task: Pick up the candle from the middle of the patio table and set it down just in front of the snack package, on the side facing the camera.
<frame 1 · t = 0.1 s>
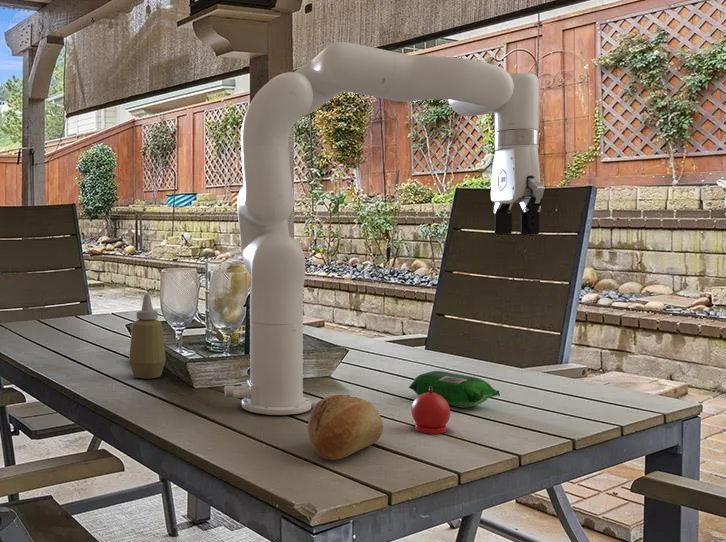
hand: (516, 234, 139), 31 cm above the table, tool pointing down, fingers open, 9 cm apart
squeeze bottle: (147, 377, 164), on the table
snack package: (452, 404, 139), on the table
bread roll: (344, 452, 110), on the table
candle: (430, 429, 121), on the table
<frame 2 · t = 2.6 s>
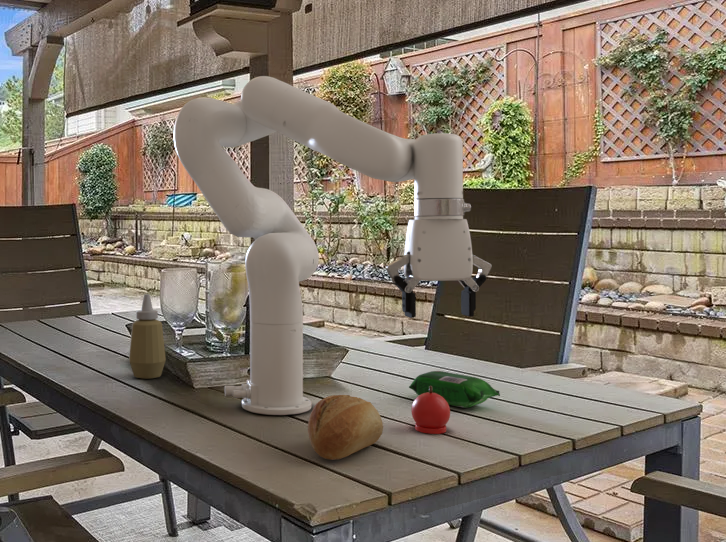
hand: (438, 316, 122), 18 cm above the table, tool pointing down, fingers open, 9 cm apart
nothing on the table moved.
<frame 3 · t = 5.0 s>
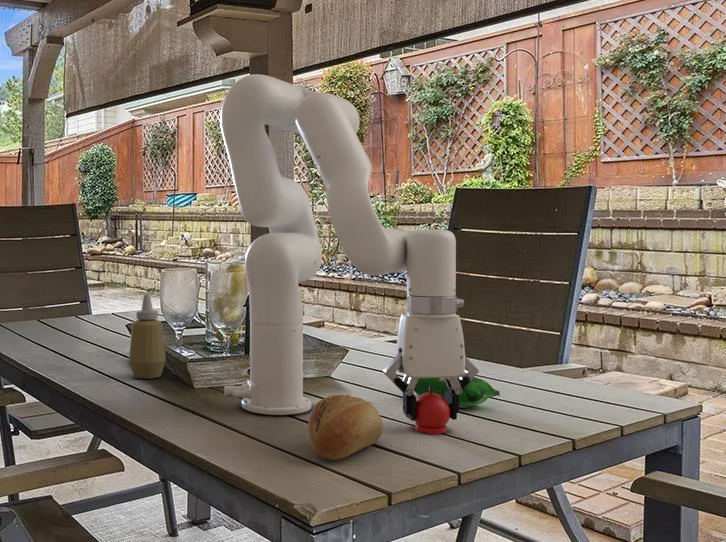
hand: (430, 416, 121), 2 cm above the table, tool pointing down, fingers closed on candle, 6 cm apart
candle: (430, 429, 121), on the table, touching gripper
everything else where it was.
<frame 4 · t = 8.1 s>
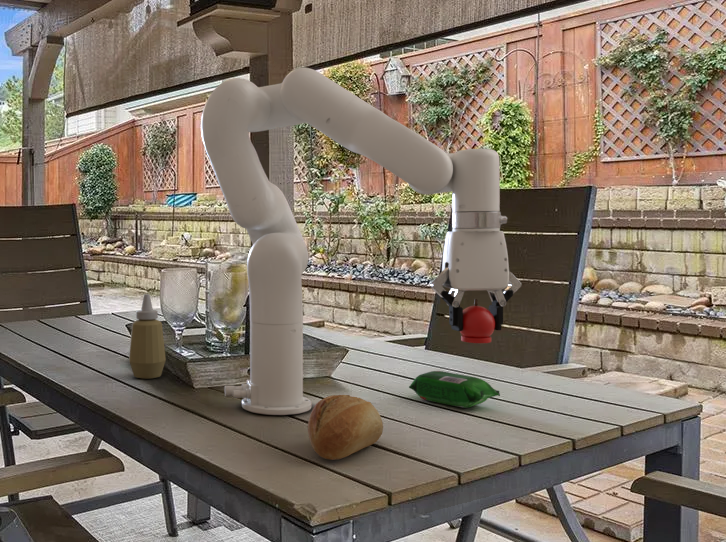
hand: (476, 328, 127), 15 cm above the table, tool pointing down, fingers closed on candle, 6 cm apart
candle: (476, 341, 127), point 13 cm above the table, touching gripper
everything else where it was.
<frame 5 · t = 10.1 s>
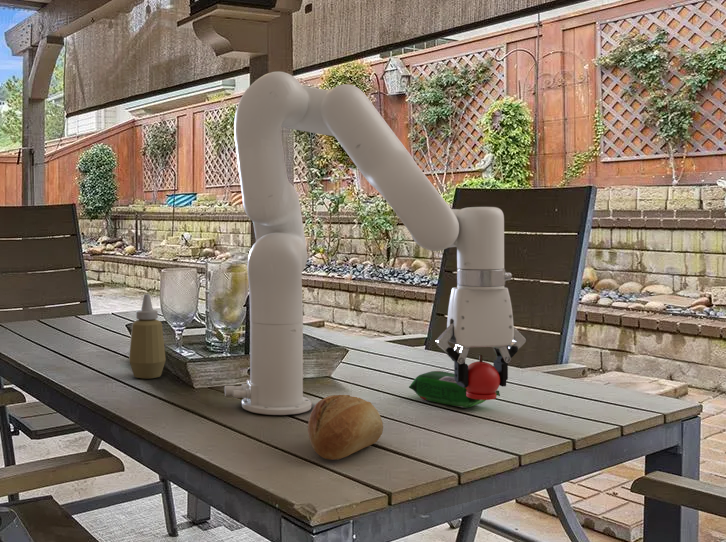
hand: (481, 384, 128), 6 cm above the table, tool pointing down, fingers closed on candle, 6 cm apart
candle: (481, 396, 128), point 4 cm above the table, touching gripper
everything else where it was.
when the fingers open (2 cm above the table, at t = 11.5 s): candle stays where it is, on the table.
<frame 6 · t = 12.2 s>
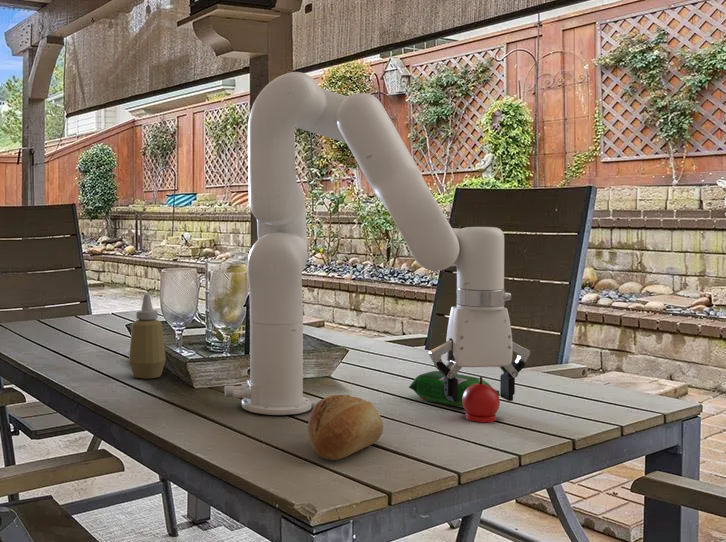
hand: (479, 399, 128), 3 cm above the table, tool pointing down, fingers open, 9 cm apart
candle: (480, 418, 128), on the table
everything else where it was.
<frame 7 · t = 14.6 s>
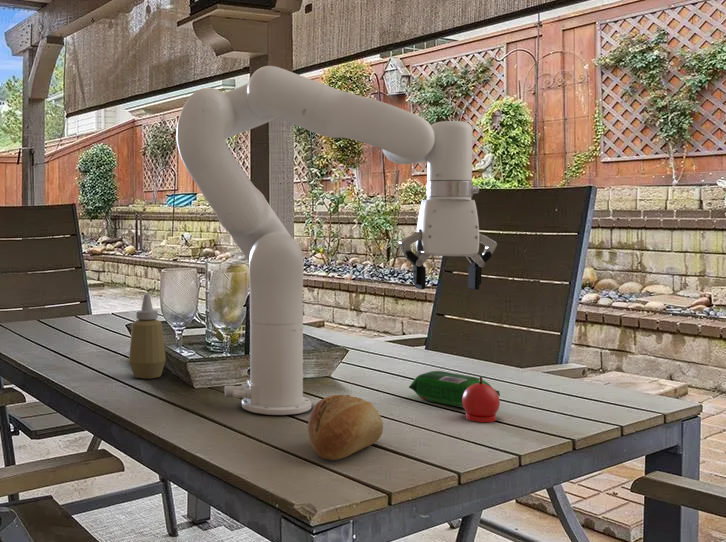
hand: (446, 288, 133), 22 cm above the table, tool pointing down, fingers open, 9 cm apart
nothing on the table moved.
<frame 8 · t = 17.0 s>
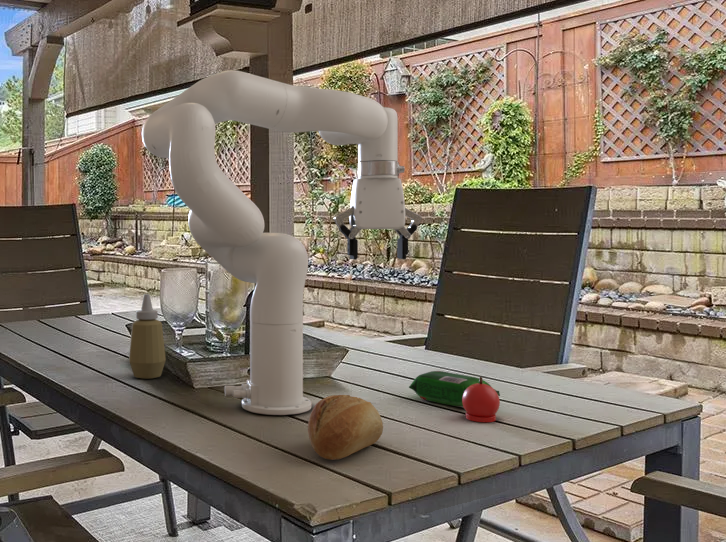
hand: (377, 259, 148), 26 cm above the table, tool pointing down, fingers open, 9 cm apart
nothing on the table moved.
at the end: candle 11.1 cm from the snack package (horizontally); candle inside the target area (2.4 cm from its centre), on the table; candle tilted 0° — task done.
